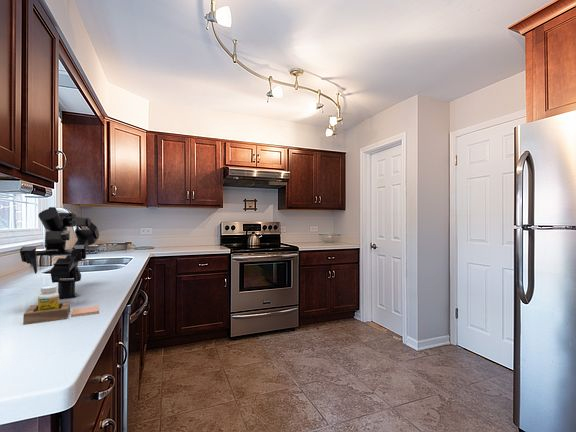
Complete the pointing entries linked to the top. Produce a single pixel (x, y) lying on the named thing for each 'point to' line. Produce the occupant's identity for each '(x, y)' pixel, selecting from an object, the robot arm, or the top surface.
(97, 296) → the top surface
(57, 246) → the robot arm
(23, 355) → the top surface
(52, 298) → the supplement bottle
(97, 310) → the coaster
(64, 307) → the pocket block
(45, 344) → the top surface
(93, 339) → the top surface
